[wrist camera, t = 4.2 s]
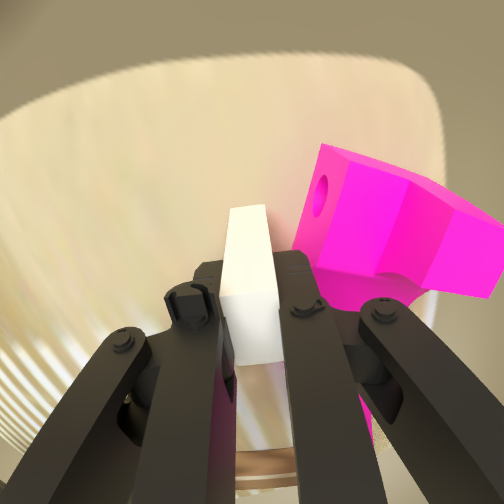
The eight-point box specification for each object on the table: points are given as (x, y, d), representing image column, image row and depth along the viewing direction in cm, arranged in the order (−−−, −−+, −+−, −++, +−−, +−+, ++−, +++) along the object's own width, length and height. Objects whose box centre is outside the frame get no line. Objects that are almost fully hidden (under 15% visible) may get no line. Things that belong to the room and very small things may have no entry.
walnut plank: (217, 468, 29) (216, 490, 27) (206, 452, 27) (205, 477, 24) (353, 453, 29) (358, 475, 26) (359, 436, 26) (365, 460, 24)
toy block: (320, 142, 14) (386, 185, 7) (425, 176, 14) (518, 236, 8) (253, 365, 20) (256, 462, 14) (336, 372, 21) (357, 459, 14)
